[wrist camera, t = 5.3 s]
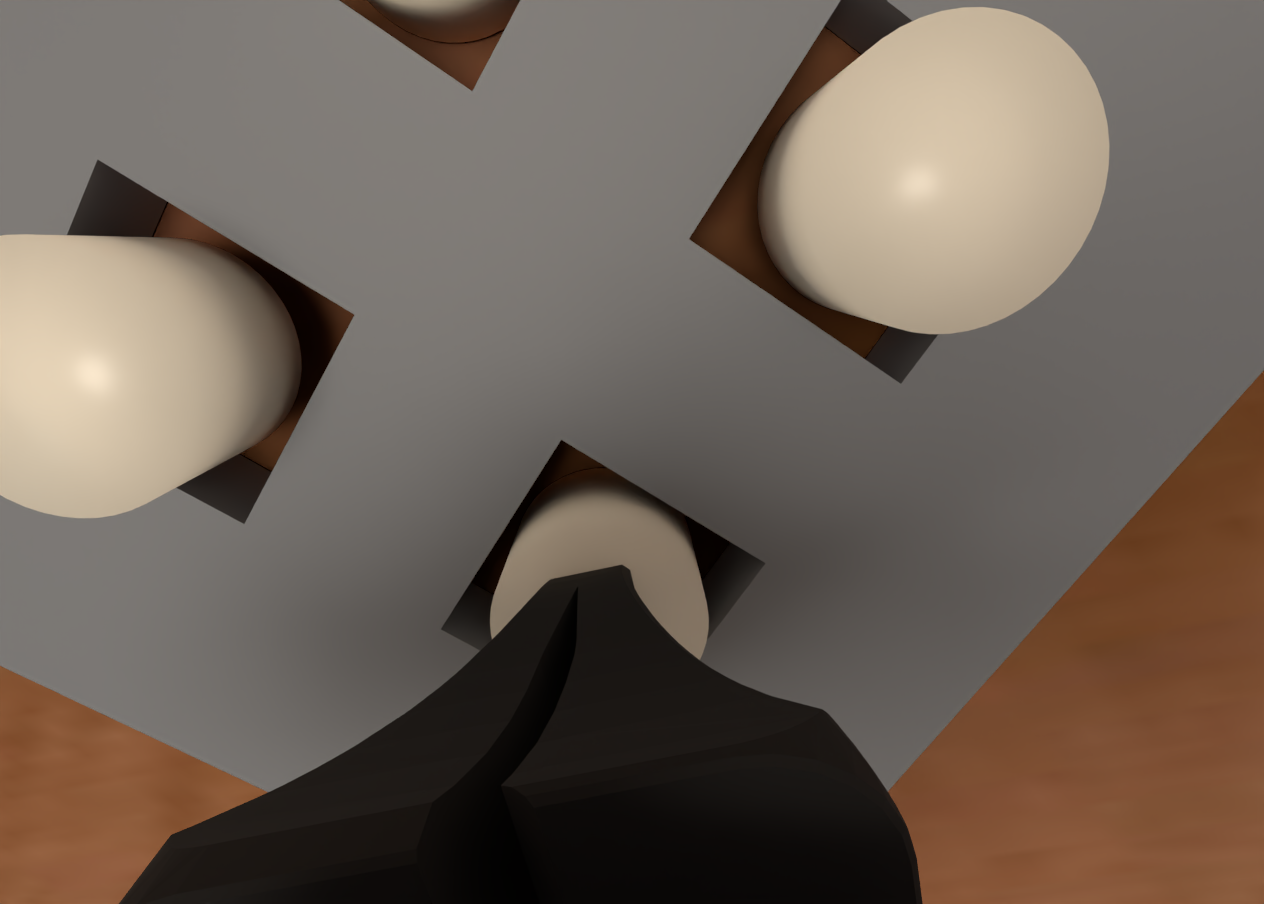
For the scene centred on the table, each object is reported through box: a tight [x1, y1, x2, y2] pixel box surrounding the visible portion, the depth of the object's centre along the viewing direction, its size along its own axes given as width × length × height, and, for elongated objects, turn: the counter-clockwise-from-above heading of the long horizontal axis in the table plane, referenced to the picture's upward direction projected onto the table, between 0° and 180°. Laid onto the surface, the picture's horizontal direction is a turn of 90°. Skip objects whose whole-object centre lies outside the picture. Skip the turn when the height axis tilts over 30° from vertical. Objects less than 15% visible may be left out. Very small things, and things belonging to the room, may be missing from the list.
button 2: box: [490, 468, 709, 660], centre depth 13 cm, size 4×4×3 cm
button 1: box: [757, 7, 1109, 334], centre depth 10 cm, size 4×4×3 cm
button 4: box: [0, 234, 302, 518], centre depth 10 cm, size 4×4×3 cm
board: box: [0, 0, 1264, 792], centre depth 12 cm, size 22×22×2 cm
